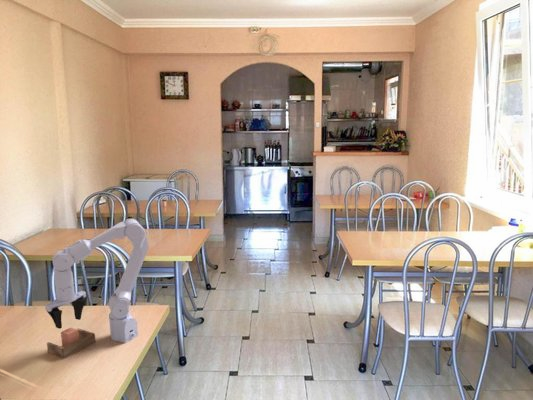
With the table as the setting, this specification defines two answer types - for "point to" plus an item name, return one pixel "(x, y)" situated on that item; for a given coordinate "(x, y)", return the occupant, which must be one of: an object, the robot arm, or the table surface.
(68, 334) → the block
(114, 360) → the table surface
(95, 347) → the table surface
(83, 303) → the robot arm
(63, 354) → the box
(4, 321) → the table surface
